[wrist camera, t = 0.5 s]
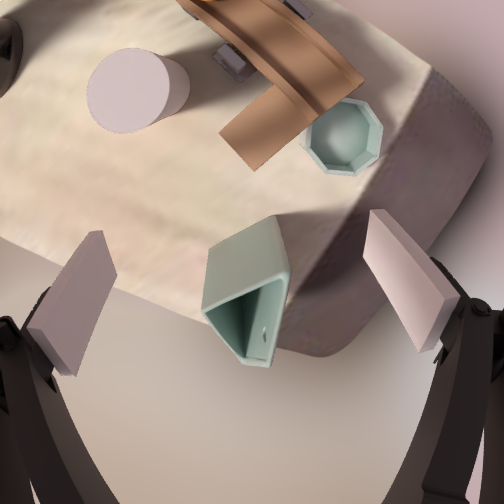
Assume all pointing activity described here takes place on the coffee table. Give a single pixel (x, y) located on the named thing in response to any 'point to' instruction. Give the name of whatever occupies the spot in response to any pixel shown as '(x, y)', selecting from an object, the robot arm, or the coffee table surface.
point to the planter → (248, 291)
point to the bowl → (344, 138)
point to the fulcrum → (237, 62)
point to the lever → (277, 72)
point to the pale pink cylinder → (136, 90)
